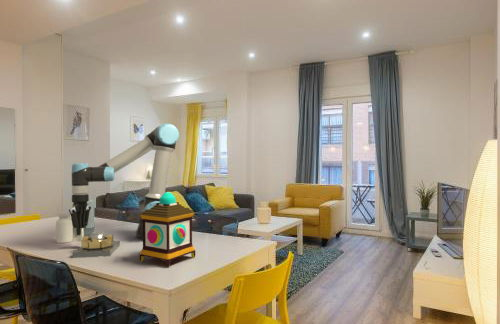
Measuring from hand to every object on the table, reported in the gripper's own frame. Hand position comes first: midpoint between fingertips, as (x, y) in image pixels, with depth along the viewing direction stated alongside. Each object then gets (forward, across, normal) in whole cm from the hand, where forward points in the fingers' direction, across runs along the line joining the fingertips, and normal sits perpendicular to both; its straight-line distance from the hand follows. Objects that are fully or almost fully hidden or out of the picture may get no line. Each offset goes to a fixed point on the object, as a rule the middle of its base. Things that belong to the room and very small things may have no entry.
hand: (80, 241), depth 168 cm
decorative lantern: (+4, +7, +51) cm, 52 cm away
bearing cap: (+4, +2, +12) cm, 12 cm away
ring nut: (+1, 0, +8) cm, 8 cm away
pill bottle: (+4, -12, -20) cm, 23 cm away
